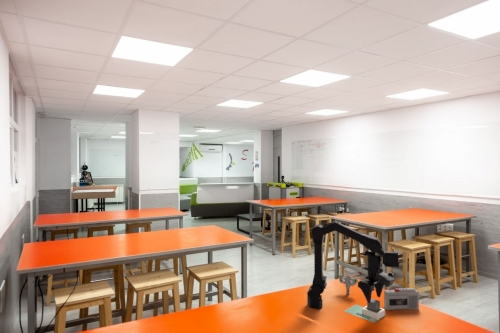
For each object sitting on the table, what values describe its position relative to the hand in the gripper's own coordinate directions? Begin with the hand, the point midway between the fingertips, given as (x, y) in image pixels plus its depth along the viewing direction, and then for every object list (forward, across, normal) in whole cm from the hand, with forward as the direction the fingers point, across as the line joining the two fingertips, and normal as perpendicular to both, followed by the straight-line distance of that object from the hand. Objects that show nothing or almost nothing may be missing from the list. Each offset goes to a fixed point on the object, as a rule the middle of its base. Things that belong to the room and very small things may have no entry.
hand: (373, 299), depth 145 cm
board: (+8, -2, +4) cm, 9 cm away
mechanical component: (+8, +12, +21) cm, 25 cm away
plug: (+7, 0, 0) cm, 7 cm away
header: (+7, 0, 0) cm, 7 cm away
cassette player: (+8, +16, -5) cm, 19 cm away
